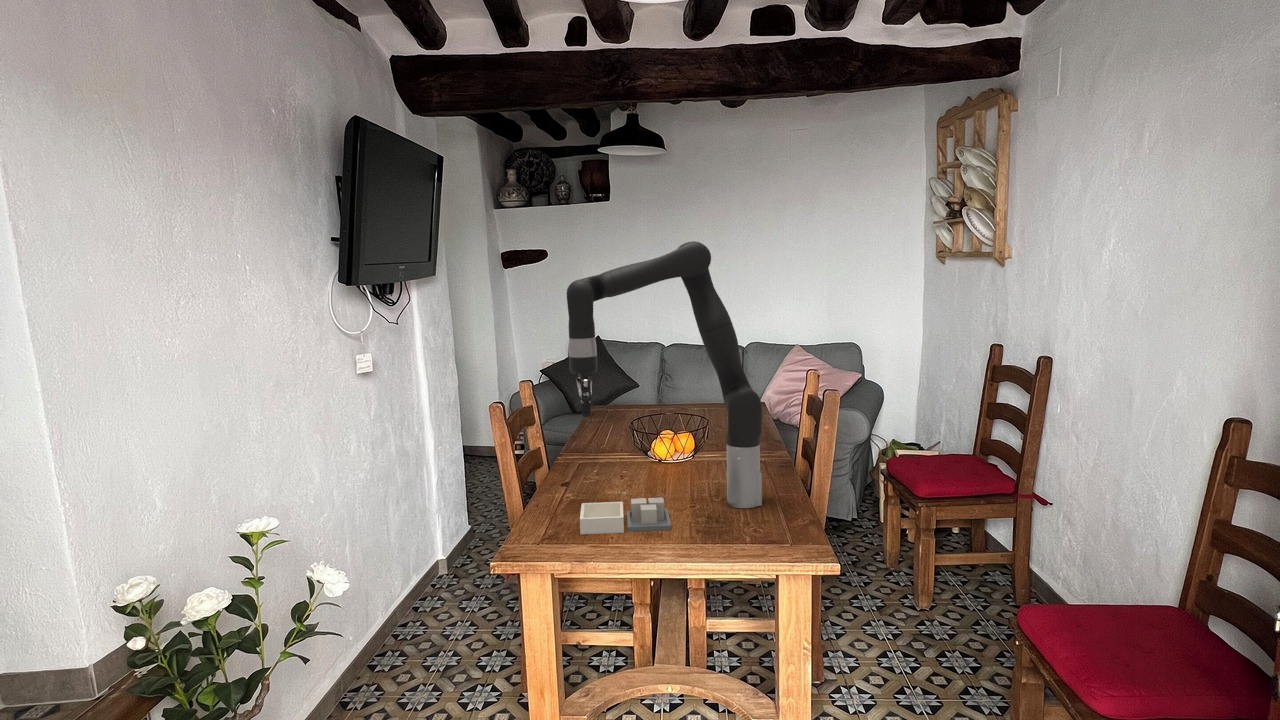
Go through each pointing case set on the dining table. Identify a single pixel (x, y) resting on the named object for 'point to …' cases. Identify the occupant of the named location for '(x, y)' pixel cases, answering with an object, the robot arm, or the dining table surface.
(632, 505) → the stone
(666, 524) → the slate tray
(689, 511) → the dining table surface
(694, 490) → the dining table surface
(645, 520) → the stone
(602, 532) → the cream dish
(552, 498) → the dining table surface
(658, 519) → the stone
